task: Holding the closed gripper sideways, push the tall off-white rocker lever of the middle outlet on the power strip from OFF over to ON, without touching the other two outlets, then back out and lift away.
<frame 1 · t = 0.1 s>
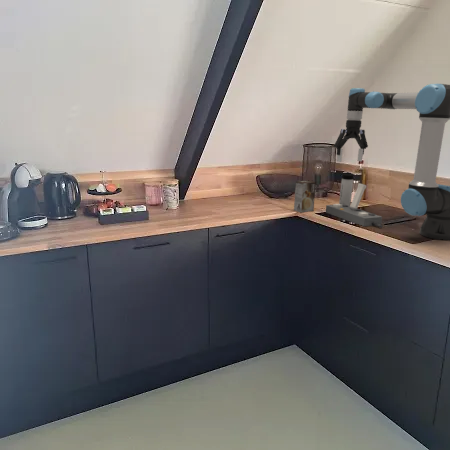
hand: (349, 161, 223), 28 cm above the worktop, tool pointing down, fingers open, 13 cm apart
coffee box: (303, 211, 232), on the worktop
middle rocker lever: (357, 197, 217), point 11 cm above the worktop, hinge at 20.0°
power strip: (351, 218, 219), on the worktop
travel mug: (344, 207, 243), on the worktop
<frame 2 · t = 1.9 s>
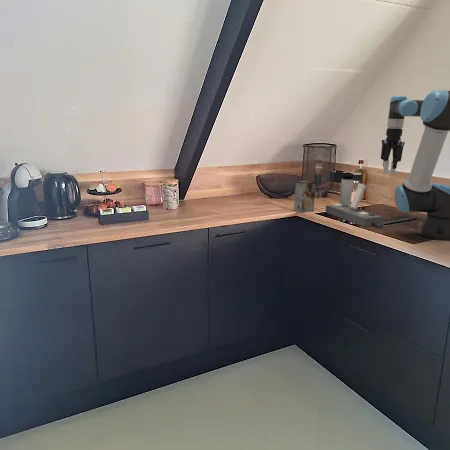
hand: (388, 174, 219), 23 cm above the worktop, tool pointing down, fingers open, 4 cm apart
nothing on the worktop moved.
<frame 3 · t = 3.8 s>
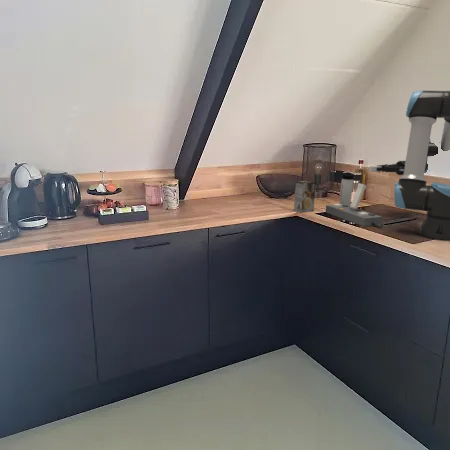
hand: (370, 169, 216), 25 cm above the worktop, tool horizontal, fingers closed
nothing on the worktop moved.
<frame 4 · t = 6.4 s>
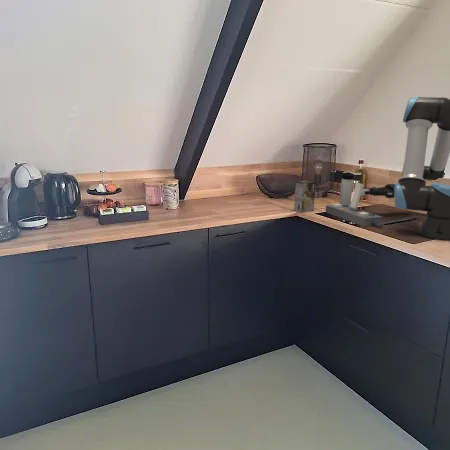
hand: (358, 192, 217), 13 cm above the worktop, tool horizontal, fingers closed
middle rocker lever: (356, 196, 216), point 11 cm above the worktop, hinge at 12.1°, touching gripper
everything else where it was.
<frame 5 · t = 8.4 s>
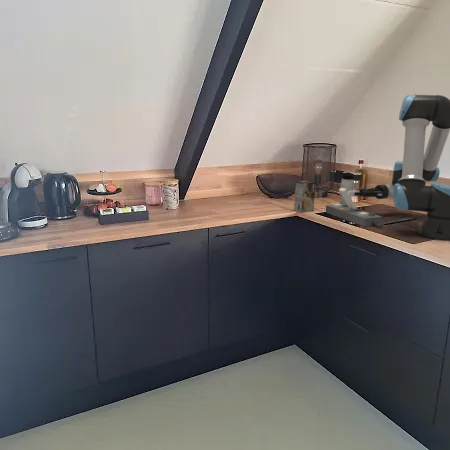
hand: (348, 193, 214), 13 cm above the worktop, tool horizontal, fingers closed
middle rocker lever: (348, 199, 215), point 10 cm above the worktop, hinge at -38.5°, touching gripper
everything else where it was.
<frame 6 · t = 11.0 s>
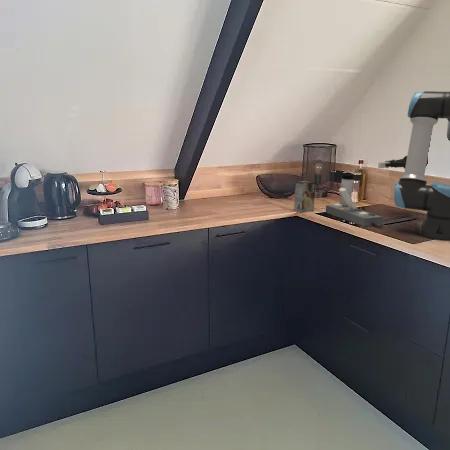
hand: (379, 165, 217), 27 cm above the worktop, tool horizontal, fingers closed
middle rocker lever: (348, 199, 215), point 10 cm above the worktop, hinge at -38.5°
everything else where it was.
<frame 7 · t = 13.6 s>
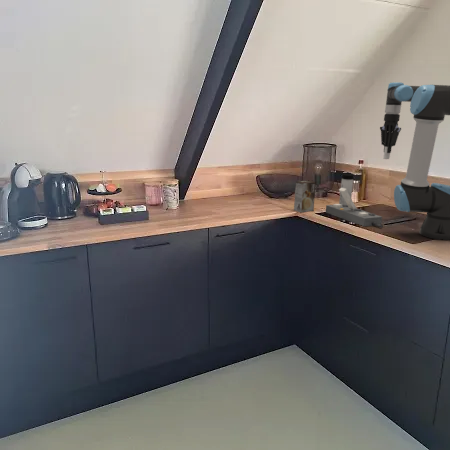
hand: (386, 158, 227), 29 cm above the worktop, tool pointing down, fingers closed
nothing on the worktop moved.
at the end: middle rocker lever at -38° (first picture: +20°); travel mug moved 0.2 cm from its start; coffee box moved 0.2 cm from its start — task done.
